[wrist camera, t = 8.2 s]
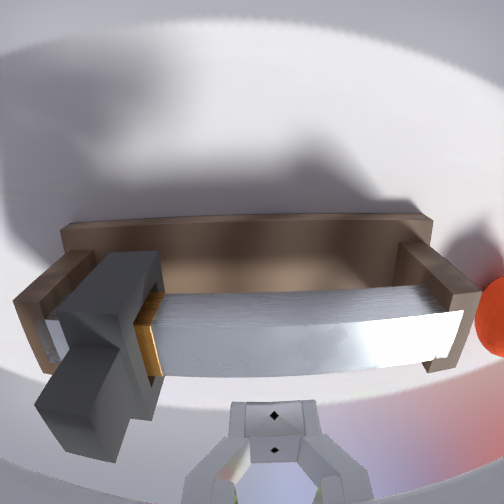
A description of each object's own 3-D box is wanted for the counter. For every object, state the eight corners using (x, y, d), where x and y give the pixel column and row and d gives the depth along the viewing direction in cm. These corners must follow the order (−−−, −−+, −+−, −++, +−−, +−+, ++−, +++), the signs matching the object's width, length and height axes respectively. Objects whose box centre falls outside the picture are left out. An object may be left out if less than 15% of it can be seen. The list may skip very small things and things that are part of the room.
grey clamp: (158, 250, 17) (76, 382, 8) (174, 344, 20) (134, 483, 10) (110, 252, 17) (8, 368, 8) (131, 342, 20) (75, 469, 10)
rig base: (423, 214, 20) (496, 263, 12) (406, 312, 23) (453, 384, 15) (70, 223, 21) (-2, 274, 13) (93, 318, 24) (46, 389, 16)
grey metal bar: (437, 282, 16) (464, 310, 13) (425, 327, 17) (447, 358, 15) (56, 290, 16) (30, 317, 14) (70, 333, 18) (49, 363, 15)
